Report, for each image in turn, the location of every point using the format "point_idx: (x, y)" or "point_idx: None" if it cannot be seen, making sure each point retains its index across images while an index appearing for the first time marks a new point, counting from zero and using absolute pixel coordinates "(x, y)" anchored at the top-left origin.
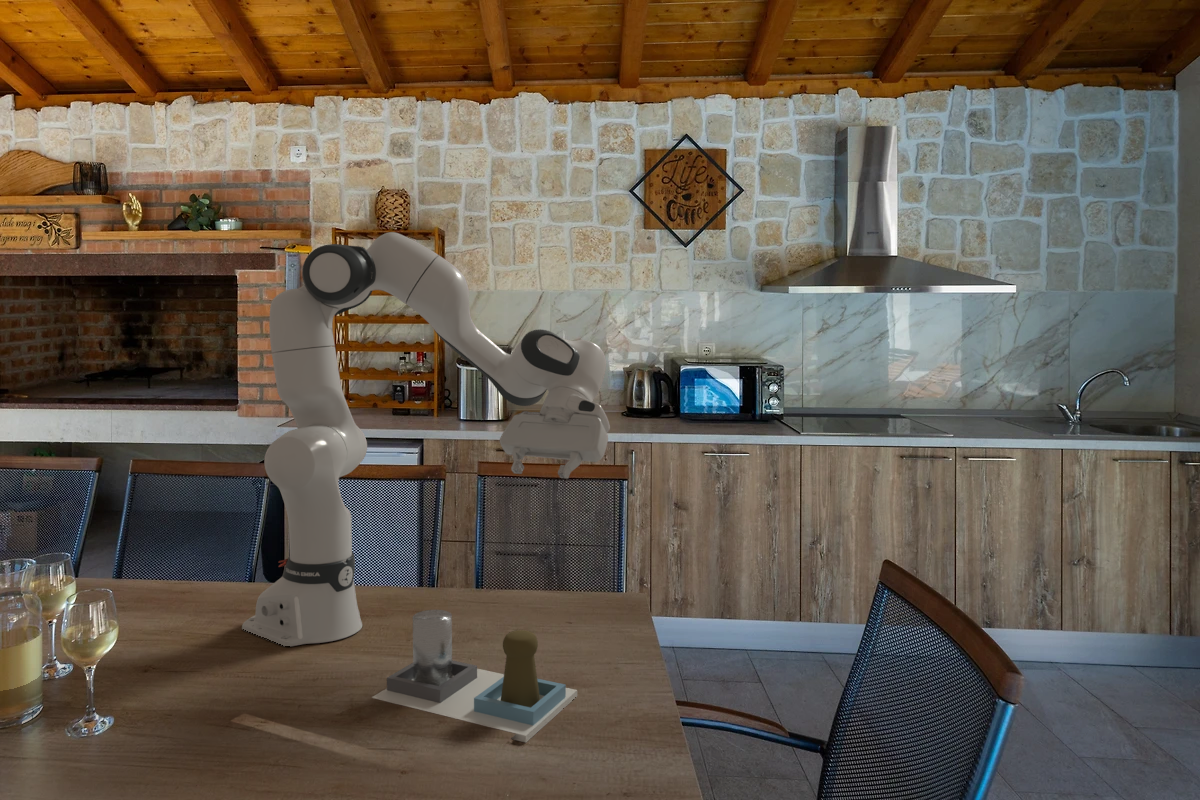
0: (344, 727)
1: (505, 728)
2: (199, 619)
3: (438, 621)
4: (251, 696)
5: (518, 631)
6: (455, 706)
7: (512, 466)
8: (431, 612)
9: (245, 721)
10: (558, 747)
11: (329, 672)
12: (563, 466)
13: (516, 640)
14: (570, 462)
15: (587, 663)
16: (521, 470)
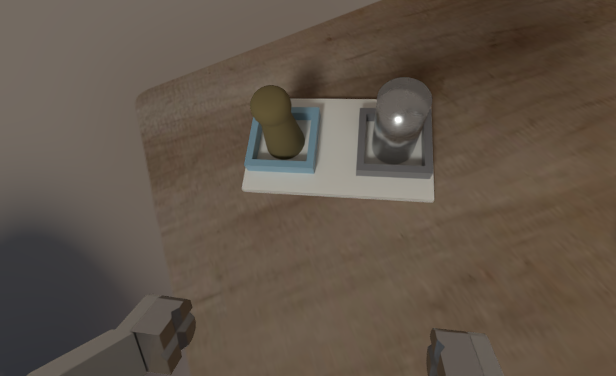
0: (419, 64)
1: None
2: None
3: (384, 88)
4: (555, 71)
5: (271, 100)
6: (341, 115)
7: (483, 341)
8: (414, 108)
9: (509, 39)
10: (233, 106)
11: (533, 140)
12: (144, 325)
13: (266, 86)
14: (89, 343)
15: (256, 277)
16: (430, 368)
